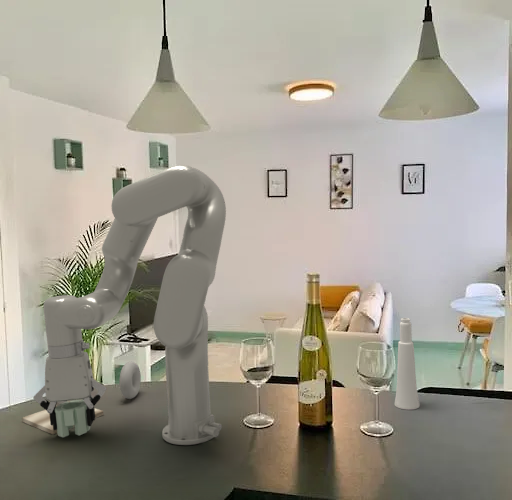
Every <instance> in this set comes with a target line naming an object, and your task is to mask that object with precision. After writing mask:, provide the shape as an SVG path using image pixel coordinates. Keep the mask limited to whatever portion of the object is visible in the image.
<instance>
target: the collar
mask: <svg viewBox="0 0 512 500" xmlns="http://www.w3.org/2000/svg"><path fill="white" fill-rule="evenodd" d="M69 401H70V402H69ZM69 401H67V402H64V403H62V404H59V406H57V405H56V408H55V413H56V422H57V433H56V434H57V435H58V437H60V438H66V437H68V436H69V435H70V433H69V430H70V429H72V428H74V434H75V435H77V436H81V435H83V434H87V433H88V432H89V431H90V430H91V426H92V425H91V426H88V424H87V414H86V409H87V405H86V403H85V402H84V400H83V399H76V400H69ZM73 425H74V427H73Z"/></svg>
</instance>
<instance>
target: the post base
mask: <svg viewBox="0 0 512 500" xmlns="http://www.w3.org/2000/svg"><path fill="white" fill-rule="evenodd" d="M70 401H71V400H68V401H58V402H57V405H56V406H59V404H62V403H64V402H70ZM94 409H95V419H97V418H100V417H102V416H104V410H101V409H99V408H95V407H94ZM21 422H22V423H25V424H27V425H29V426H31V427H34V428H36V429H39V430H41V431H43V432H45V433H48V434H50V435H55V434H57V429H56V430H53V425H51V424H50V414H49V413H48V412H47V410H45V409H43V410H41V411H40V410H39V411H38V412H35V413H31V414H29V415H26V416H23V417H21ZM73 428H75V426H74V425H73Z"/></svg>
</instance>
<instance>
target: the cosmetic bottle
mask: <svg viewBox="0 0 512 500" xmlns="http://www.w3.org/2000/svg"><path fill="white" fill-rule="evenodd" d="M412 335H413V333H412V322H411V319H410V318H409V317H402V318H400V322H399V340H398V342H397V343H398V344H397V345H398V346H397V373H396V374H397V375H396V377H397V378H396V390H395V391H396V392H395V399H394V406H395V407H396V408H397V409H401V410H405V411H406V410H407V411H408V410H409V411H411V410H416V409H419V408H420V406H421V405H420V399H419V395H418V394H419V393H418V387H417V375H416V361H415V360H416V359H415V348H414V342H413V341H412V338H413V337H412Z"/></svg>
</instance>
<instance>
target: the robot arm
mask: <svg viewBox="0 0 512 500" xmlns="http://www.w3.org/2000/svg"><path fill="white" fill-rule="evenodd" d="M185 207H186V208H187V212H188V214H187V219H186V222H185V225H184V229H183V234H182V240H181V244H180V248H179V252H178V254H177V255H175V256H174V257H172V259H170V261H169V262H168V264H167V265H166V267H165V271H164V272H163V273H164V274H163V277H162V280H161V285H160V290H159V295H158V299H157V303H156V309H155V313H154V317H153V333H154V334H155V337H156V339H157V340H158V341H159V343H161V345H163V346H164V347H165V348H164V349H165V351H164V354H165V355H164V356H165V357H164V358H165V379H166V380H165V381H166V397H167V398H166V399H167V417H168V424H166V425H165V426H164V427H163V429H162V432H161V433H162V434H161V435H162V439H163V440H164V441H165V442H167V443H169V444H173V445H180V446H192V445H197V444H202V443H205V442H208V441H210V440H212V439H214V438H217V437H218V436H219V434H220V431H221V430H222V429H223V425H222V424H221V423H218V422H217V423H216V422H215V415H214V414H212V413H211V399H210V397H211V396H210V379H209V350H208V348H209V346H208V339H209V337H208V335H209V331H208V329H209V320H208V319H209V316H208V312H207V309H206V307H205V304H206V303H205V302H206V299H207V294H208V292H209V288H210V286H211V285H212V284H213V282H214V280H215V276H216V270H217V264H218V259H219V254H220V251H221V245H222V239H223V234H224V229H225V225H226V216H227V213H226V212H227V210H226V209H227V208H226V201H225V197H224V195H223V192H222V191H221V189H220V187H219V186H218V185H217V183H216V182H215V181H214V180H213V179H212V178H211V177H209V176H208V174H206V173H205V172H203V171H202V170H200V169H197V168H195V167H192V166H189V165H185V164H184V165H183V164H179V165H174V166H172V167H168V168H166V169H163V170H161V171H159V172H156V173H155V174H152V175H150V176H146V177H144V178H142V179H140V180H138V181H135V182H132V183H130V184H128V185H125V186H123V187H122V188H120V189H119V190H118V191H117V192H116V193H115V194H114V196H113V198H112V201H111V212H112V215H113V217H114V220H113V222H112V224H111V226H110V228H109V230H108V232H107V234H106V237H105V239H104V241H103V243H102V247H101V252H102V255H103V257H104V267H103V270H102V274H101V276H100V277H99V281H98V283H97V284H96V287H95V290H94V291H93V292H91V293H89V294H87V295H83V296H79V297H76V296H75V295H71V294H70V295H68V294H66V295H57V296H51V297H48V298H46V299H45V300H44V302H43V315H44V322H45V323H44V325H45V334H46V343H47V344H46V345H47V350H48V351H47V352H48V356H47V357H46V358H45V365H44V385H43V387H41V389H39V391H37V392H36V393H35V394H34V396H32V397H33V400H34V401H36V403H38V405H40V407H42V409H43V410H47V412H48V413H49V414H50V424H51V425H53V430H56V429H57V422H56V413H55V408H56V406H57V402H58V401H67V402H69V401H73V400H84V402H85V403H86V405H87V409H86V414H87V424H88V426H92V425H93V423H94V421H95V420H96V418H95V409H94V408H95V406H96V404H97V403H99V401H100V400H101V398H102V397H103V395H104V394H105V392H106V391H107V387H106V386H105V385H103V384H102V383H100V382H98V381H97V380H95V378H94V374H93V369H92V364H91V361H90V355H89V354H88V352H87V351H86V350H87V349H88V350H89V349H90V343H89V342H85V341H84V339H83V334H82V330H93V329H97V328H100V327H101V326H102V325H104V324H107V322H109V321H110V320H112V319H113V318H114V317H116V316H117V314H118V313H119V311H121V308H122V306H123V304H124V303H125V299H126V298H127V295H128V294H129V290H130V289H131V286H132V284H133V281H134V277H135V274H136V271H137V268H138V263H139V260H140V257H141V255H142V253H143V251H144V250H145V246H146V244H147V243H148V241H149V239H150V236H151V234H152V232H153V229H154V228H155V225H156V223H157V221H158V218H160V217H162V216H165V215H168V214H169V213H173V212H174V211H178V210H180V209H182V208H185ZM94 390H97V393H96V394H95V395H94V396H93V395H92V392H93V391H94ZM44 394H45V398H46V399H45V398H44Z"/></svg>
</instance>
